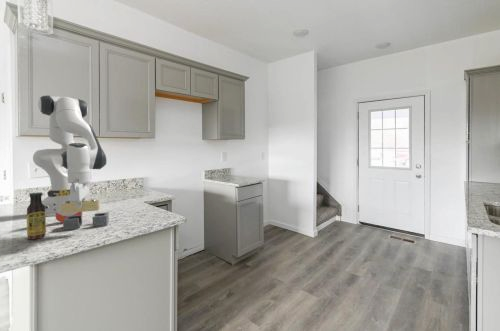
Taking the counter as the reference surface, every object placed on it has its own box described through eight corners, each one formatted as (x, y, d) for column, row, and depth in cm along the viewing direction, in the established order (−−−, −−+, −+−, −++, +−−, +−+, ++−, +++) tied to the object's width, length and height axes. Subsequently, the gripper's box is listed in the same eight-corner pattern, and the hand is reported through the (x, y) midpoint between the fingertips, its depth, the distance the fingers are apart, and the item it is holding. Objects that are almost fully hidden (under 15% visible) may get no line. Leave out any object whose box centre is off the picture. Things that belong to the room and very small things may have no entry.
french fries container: (55, 223, 129) (53, 189, 127) (80, 218, 137) (78, 186, 135) (57, 224, 126) (55, 190, 124) (82, 220, 133) (80, 187, 132)
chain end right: (108, 221, 131) (108, 212, 131) (106, 225, 124) (106, 216, 124) (95, 222, 129) (95, 213, 129) (92, 227, 122) (92, 217, 121)
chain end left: (63, 230, 117) (62, 220, 116) (68, 225, 124) (67, 216, 124) (78, 228, 119) (77, 218, 119) (82, 224, 127) (81, 214, 126)
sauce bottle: (28, 241, 104) (25, 195, 102) (26, 237, 108) (23, 193, 106) (48, 237, 109) (45, 192, 107) (45, 233, 113) (42, 191, 111)
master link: (62, 213, 110) (61, 202, 110) (64, 211, 113) (63, 201, 113) (98, 210, 116) (97, 200, 115) (99, 208, 119) (98, 198, 118)
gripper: (82, 181, 105) (83, 212, 106) (91, 175, 123) (93, 202, 125) (64, 182, 102) (66, 214, 104) (76, 175, 121) (78, 203, 122)
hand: (81, 207), depth 114 cm, fingers closed on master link, 3 cm apart
